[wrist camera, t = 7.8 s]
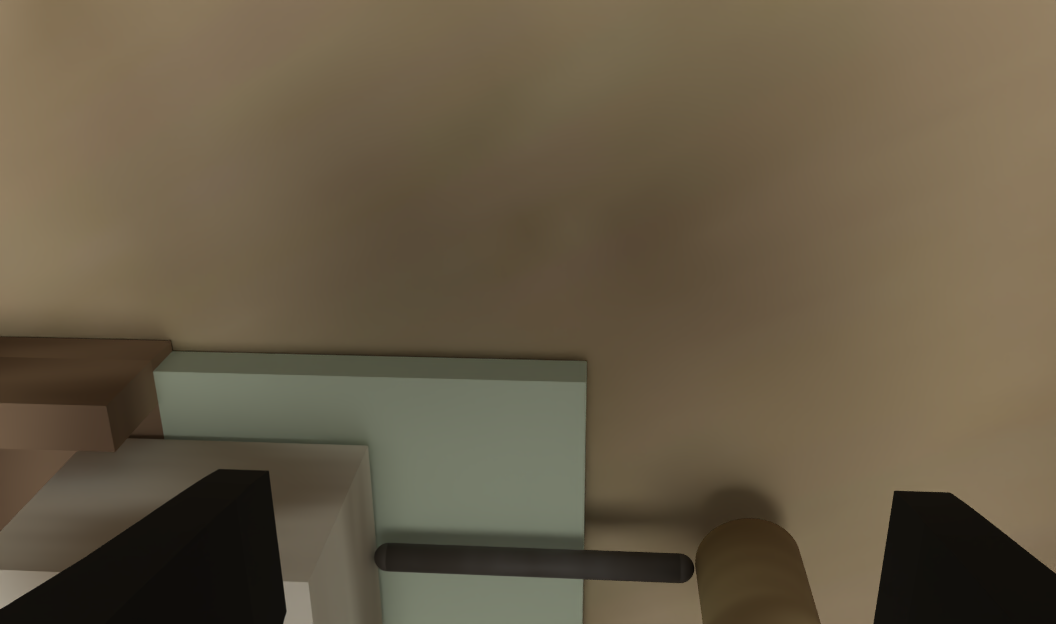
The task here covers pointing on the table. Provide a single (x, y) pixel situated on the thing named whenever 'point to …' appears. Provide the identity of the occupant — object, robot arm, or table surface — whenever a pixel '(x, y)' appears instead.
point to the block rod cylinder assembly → (367, 535)
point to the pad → (420, 458)
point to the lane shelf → (70, 406)
